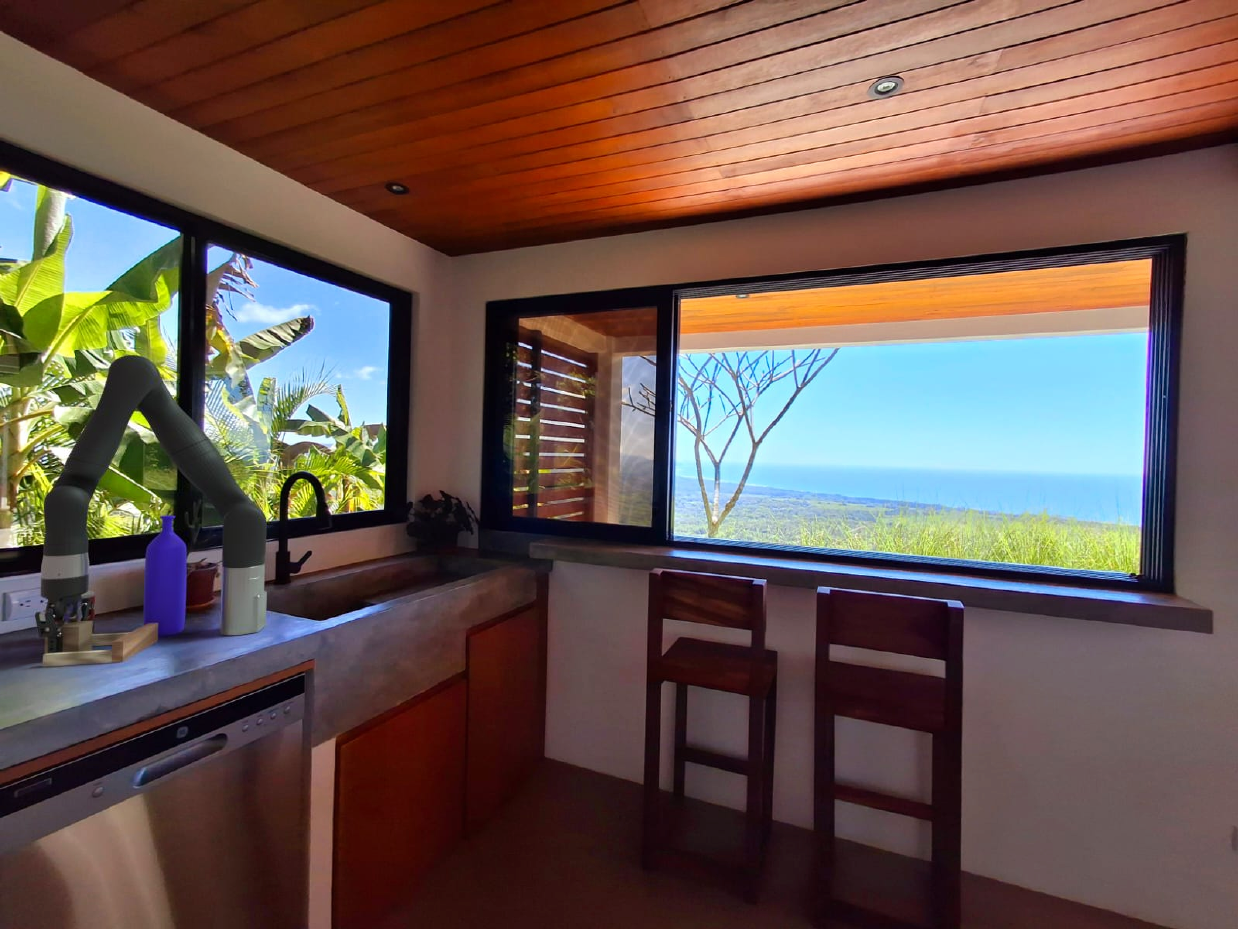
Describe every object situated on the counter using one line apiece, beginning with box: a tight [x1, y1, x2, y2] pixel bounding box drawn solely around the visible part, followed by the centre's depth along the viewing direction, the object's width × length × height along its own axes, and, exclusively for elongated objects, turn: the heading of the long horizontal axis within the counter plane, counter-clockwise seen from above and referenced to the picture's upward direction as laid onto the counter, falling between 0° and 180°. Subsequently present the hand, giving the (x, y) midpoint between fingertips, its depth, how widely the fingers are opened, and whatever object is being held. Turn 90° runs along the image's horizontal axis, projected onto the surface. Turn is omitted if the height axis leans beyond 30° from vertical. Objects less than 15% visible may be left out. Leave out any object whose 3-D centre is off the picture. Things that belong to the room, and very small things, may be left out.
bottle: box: [143, 515, 188, 638], centre depth 138 cm, size 8×8×30 cm
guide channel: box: [42, 623, 159, 668], centre depth 123 cm, size 14×14×4 cm
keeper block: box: [44, 621, 93, 654], centre depth 121 cm, size 6×4×7 cm
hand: (63, 649), depth 121 cm, fingers closed on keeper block, 4 cm apart
